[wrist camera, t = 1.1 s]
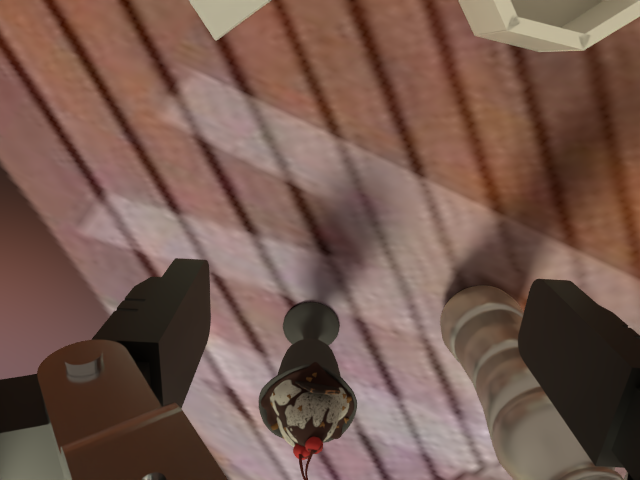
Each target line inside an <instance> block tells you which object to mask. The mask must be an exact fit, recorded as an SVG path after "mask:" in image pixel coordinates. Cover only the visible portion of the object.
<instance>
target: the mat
mask: <svg viewBox="0 0 640 480" xmlns="http://www.w3.org/2000/svg"><path fill="white" fill-rule="evenodd" d="M189 1H190V3H191V4H192V6H193V7H194V9H195V10H196V12H197V13H198V15H199V16H200V18H201V19H202V21H203V22H204V24H205V26H206V27H207V29H208V30H209V32H210V33H211V35H212V36H213V38H214V39H215V40H218V39H219V38H221V37H222V36H224V35H225V34H226V33H228V32H229V31H230V30H232V29H233V28H234V27H236V26H237V25H239V24H240V23H241V22H243V21H244V20H245V19H247V18H248V17H250V16H251V15H252V14H254V13H255V12H256V11H258V10H259V9H260V8H262V7H263V6H265V5H266V4H267V3H269V2H270V1H271V0H189Z"/></svg>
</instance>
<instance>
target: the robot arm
mask: <svg viewBox="0 0 640 480" xmlns="http://www.w3.org/2000/svg"><path fill="white" fill-rule="evenodd" d="M210 321H211V313H210V278H209V264H208V261H207V260H197V259H178V258H176V259H175V260H174V261H173V262H172V264H171V265H170V266H169V268H168V269H167V270H166V272H165V273H164V275H163V276H162V277H150V278H148V279H147V280H145V281H143V282H141V283H140V284H138V285H136V286H134V288H133V289H132V290H131V291H130V293H129V294H128V295H127V296H126V297H125V301H122V302H121V304H120V305H119V306H118V307H117V311H114V312H113V314H112V315H111V316H110V317H109V319H108V320H107V321H106V322H105V324H104V325H103V326H102V327H101V329H100V330H99V331H98V332H97V334H96V335H95V336H94V337H93V338H92V340H87V341H81V342H77V343H74V344H71V345H68V346H65V347H63V348H61V349H59V350H57V351H55V352H54V353H52V354H51V355H49V356H48V357H47V358H46V359H45V360H44V361H43V362H42V363H41V364H40V366H39V368H38V371H37V374H33V375H28V376H22V377H15V378H9V379H2V380H0V480H228V479H227V478H226V476H225V475H224V473H223V472H222V470H221V469H220V467H219V466H218V464H217V462H216V461H215V459H214V458H213V456H212V455H211V453H210V452H209V450H208V449H207V447H206V446H205V444H204V443H203V441H202V440H201V438H200V437H199V435H198V434H197V432H196V430H195V429H194V427H193V426H192V424H191V423H190V421H189V420H188V418H187V417H186V415H185V414H184V412H183V411H182V409H181V408H182V405H183V403H184V400H185V398H186V395H187V393H188V390H189V387H190V385H191V382H192V380H193V377H194V375H195V372H196V370H197V367H198V364H199V362H200V359H201V357H202V354H203V352H204V349H205V346H206V344H207V341H208V337H209V331H210ZM518 349H519V353H520V356H521V358H522V360H523V361H524V363H525V364H526V366H527V367H528V369H529V370H530V372H531V373H532V375H533V376H534V377H535V379H536V380H537V382H538V383H539V385H540V386H541V388H542V389H543V391H544V392H545V394H546V395H547V396H548V398H549V399H550V401H551V402H552V404H553V405H554V407H555V408H556V410H557V411H558V413H559V414H560V416H561V417H562V418H563V420H564V421H565V423H566V424H567V426H568V427H569V429H570V430H571V432H572V433H573V435H574V436H575V437H576V439H577V440H578V442H579V443H580V445H581V446H582V448H583V449H584V451H585V452H586V454H587V455H588V456H589V458H590V459H591V461H592V462H593V464H594V465H595V466H600V467H623V468H625V469H626V470H627V473H626V475H625V478H624V480H640V335H638V334H637V333H636V332H635V331H634V330H633V329H631V328H628V325H627V324H626V323H624V322H623V321H622V320H621V319H620V318H619V317H617V316H616V315H615V314H614V313H613V312H611V311H609V310H607V309H605V308H603V307H602V306H600V305H598V304H597V303H596V302H594V301H593V300H592V299H591V298H590V297H589V296H587V295H586V294H585V293H584V292H583V291H582V290H581V289H579V288H578V287H577V286H576V285H575V284H574V283H573V282H571V281H567V280H549V279H537V280H535V281H534V282H533V284H532V285H531V288H530V291H529V295H528V299H527V303H526V307H525V310H524V314H523V318H522V322H521V326H520V330H519V334H518Z"/></svg>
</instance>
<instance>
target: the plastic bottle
mask: <svg viewBox="0 0 640 480" xmlns="http://www.w3.org/2000/svg"><path fill="white" fill-rule="evenodd" d="M523 314H524V312H523V310H522V309H521V307H520V305H519V304H518V302H517V301H516V300H515V299H514V298H512V297H511V296H510V295H508V294H507V293H506V292H504V291H502V290H501V289H499V288H496V287H493V286H487V285H479V286H473V287H469V288H466V289H464V290H462V291H460V292H458V293H457V294H455V295H454V296H453V297H452V298H451V299H450V300H449V301H448V302H447V304H446V305H445V307H444V309H443V311H442V314H441V318H440V326H441V332H442V338H443V341H444V343H445V345H446V346H447V348H448V349H449V351H450V352H451V353H452V355H453V356H454V357H455V358H456V360H457V361H458V362H459V363H460V364H461V365H462V367H463V369H464V370H465V372H466V373H467V375H468V376H469V378H470V380H471V381H472V383H473V385H474V387H475V390H476V392H477V395H478V397H479V400H480V402H481V405H482V407H483V411H484V414H485V418H486V422H487V426H488V429H489V433H490V437H491V440H492V445H493V447H494V450H495V453H496V456H497V458H498V460H499V463H500V464H501V465H502V467H503V468H504V469H505V470H506V471H507V472H508V474H509V475H510V476H511V477H512V478H513V479H514V480H624V479H623V478H622V476H621V475H620V474H618V473H617V472H616V471H615V467H600V466H595V465H594V464H593V462H592V461H591V459H590V458H589V456H588V455H587V454H586V452H585V451H584V449H583V448H582V446H581V445H580V443H579V442H578V440H577V439H576V437H575V436H574V435H573V433H572V432H571V430H570V429H569V427H568V426H567V424H566V423H565V421H564V420H563V418H562V417H561V416H560V414H559V413H558V411H557V410H556V408H555V407H554V405H553V404H552V402H551V401H550V399H549V398H548V396H547V395H546V394H545V392H544V391H543V389H542V388H541V386H540V385H539V383H538V382H537V380H536V379H535V377H534V376H533V375H532V373H531V372H530V370H529V369H528V367H527V366H526V364H525V363H524V361H523V360H522V358H521V356H520V353H519V349H518V334H519V330H520V326H521V322H522V318H523Z"/></svg>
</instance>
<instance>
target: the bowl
mask: <svg viewBox="0 0 640 480" xmlns="http://www.w3.org/2000/svg"><path fill="white" fill-rule="evenodd" d="M458 1H459V3H460V5H461V8H462V10H463V12H464V14H465V16H466V18H467V20H468V23H469V25H470V27H471V29H472V31H473V33H474V36H478V37H482V38H486V39H490V40H494V41H498V42H502V43H506V44H510V45H514V46H518V47H522V48H526V49H530V50H534V51H538V52H552V51H581V50H585V49H587V48H588V47H590V46H592V45H593V44H595V43H597V42H598V41H600V40H602V39H603V38H605V37H606V36H608V35H610V34H611V33H613V32H615V31H616V30H618V29H620V28H621V27H623V26H625V25H626V24H628V23H630V22H631V21H633V20H635V19H636V18H638V17H640V0H458Z"/></svg>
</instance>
